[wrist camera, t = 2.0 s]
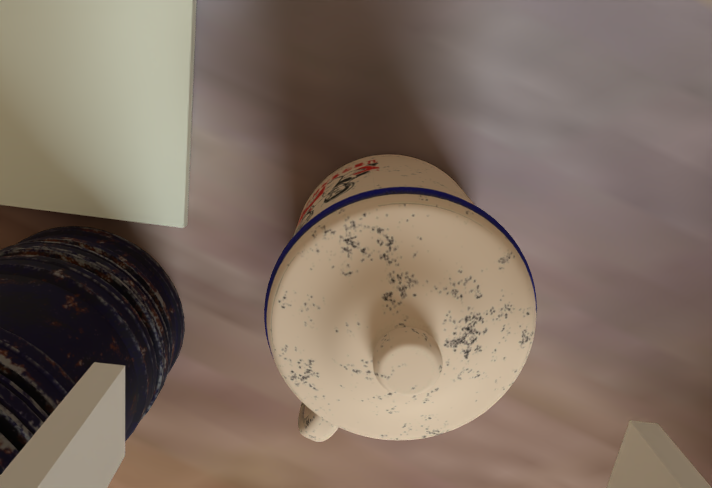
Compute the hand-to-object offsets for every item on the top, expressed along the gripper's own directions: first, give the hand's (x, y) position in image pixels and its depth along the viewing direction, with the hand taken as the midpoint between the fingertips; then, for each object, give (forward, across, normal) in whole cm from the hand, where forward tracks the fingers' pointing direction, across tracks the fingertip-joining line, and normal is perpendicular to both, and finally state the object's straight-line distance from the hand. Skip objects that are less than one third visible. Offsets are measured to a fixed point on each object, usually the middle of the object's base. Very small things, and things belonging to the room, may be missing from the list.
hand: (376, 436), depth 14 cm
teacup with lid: (+13, 0, 0) cm, 13 cm away
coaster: (+13, +16, -8) cm, 22 cm away
